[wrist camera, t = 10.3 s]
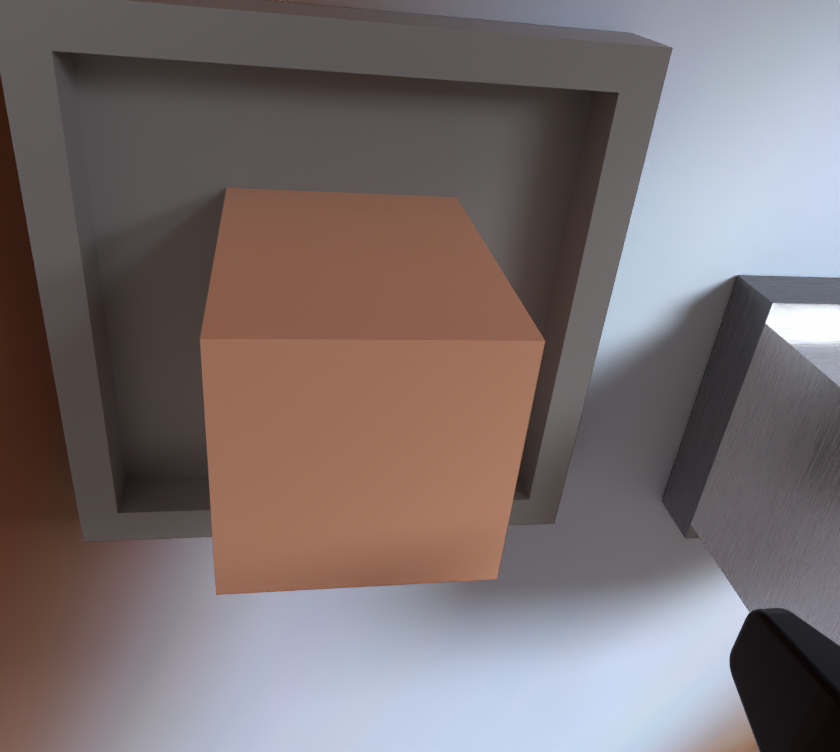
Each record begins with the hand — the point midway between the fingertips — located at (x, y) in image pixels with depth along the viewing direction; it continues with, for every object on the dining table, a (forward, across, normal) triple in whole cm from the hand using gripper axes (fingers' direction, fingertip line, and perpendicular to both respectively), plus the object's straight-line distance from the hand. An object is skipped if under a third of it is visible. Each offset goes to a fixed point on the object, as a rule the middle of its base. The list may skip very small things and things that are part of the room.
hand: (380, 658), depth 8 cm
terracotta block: (+9, 0, 0) cm, 9 cm away
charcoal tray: (+10, 0, 0) cm, 10 cm away
